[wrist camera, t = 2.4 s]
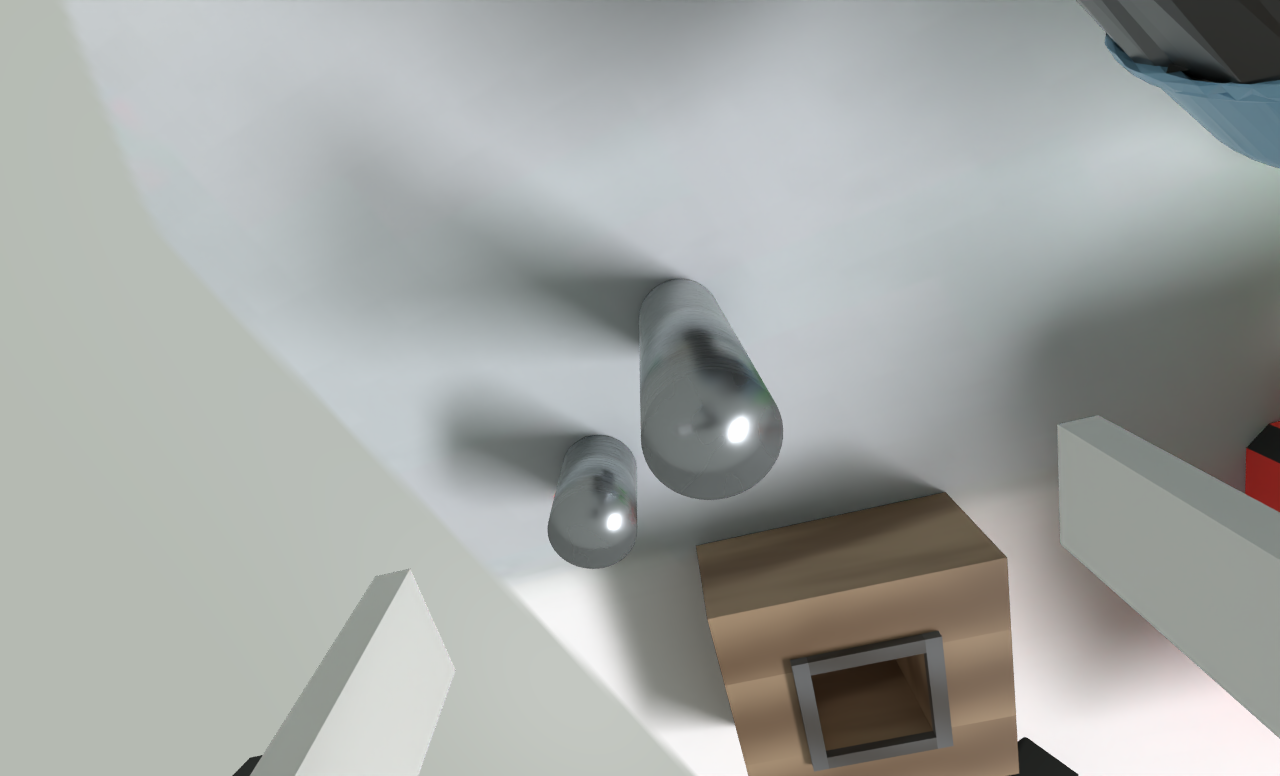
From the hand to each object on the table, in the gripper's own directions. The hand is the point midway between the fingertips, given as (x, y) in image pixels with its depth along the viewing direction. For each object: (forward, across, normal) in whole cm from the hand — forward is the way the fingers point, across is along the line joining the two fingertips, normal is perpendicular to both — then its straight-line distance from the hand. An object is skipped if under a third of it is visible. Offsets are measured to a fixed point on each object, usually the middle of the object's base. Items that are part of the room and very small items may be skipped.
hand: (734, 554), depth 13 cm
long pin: (+19, 0, 0) cm, 19 cm away
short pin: (+19, -6, -7) cm, 21 cm away
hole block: (+19, +5, -20) cm, 28 cm away
